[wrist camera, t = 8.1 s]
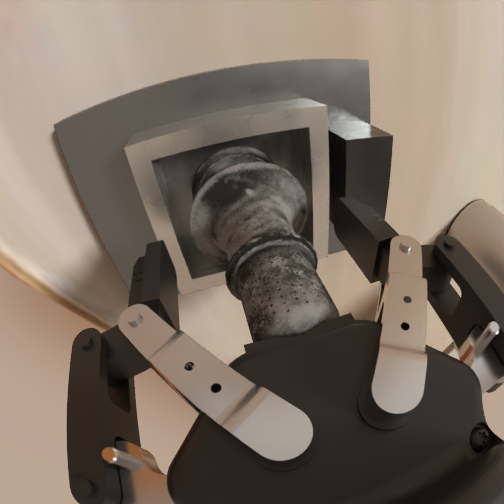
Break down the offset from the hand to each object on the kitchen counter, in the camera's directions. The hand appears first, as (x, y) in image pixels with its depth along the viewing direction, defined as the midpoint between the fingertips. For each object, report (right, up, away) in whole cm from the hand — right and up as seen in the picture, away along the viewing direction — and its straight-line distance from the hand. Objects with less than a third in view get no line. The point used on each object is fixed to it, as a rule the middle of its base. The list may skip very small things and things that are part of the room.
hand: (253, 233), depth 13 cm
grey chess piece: (-1, +3, +4) cm, 5 cm away
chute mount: (-1, +4, +5) cm, 6 cm away
